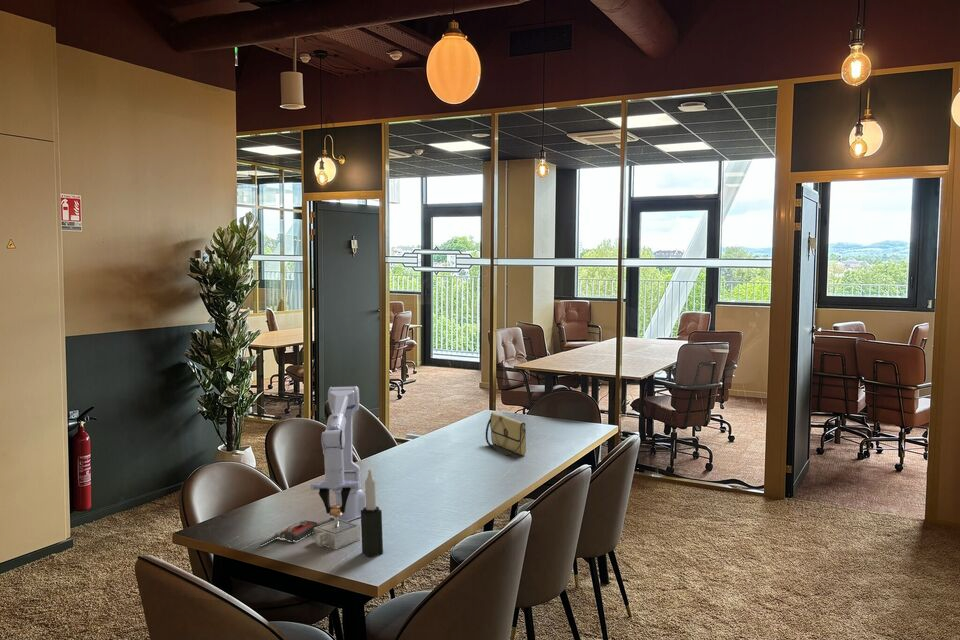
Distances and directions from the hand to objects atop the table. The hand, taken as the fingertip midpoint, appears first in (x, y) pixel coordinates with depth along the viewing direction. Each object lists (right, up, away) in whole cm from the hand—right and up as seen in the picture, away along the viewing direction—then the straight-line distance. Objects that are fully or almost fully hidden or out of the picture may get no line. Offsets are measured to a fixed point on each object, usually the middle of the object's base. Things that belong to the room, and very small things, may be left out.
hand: (336, 512), depth 226 cm
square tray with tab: (0, -9, +1) cm, 9 cm away
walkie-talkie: (-15, -10, +4) cm, 18 cm away
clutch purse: (+55, 0, +105) cm, 119 cm away
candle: (+13, -10, -9) cm, 19 cm away
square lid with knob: (0, -6, 0) cm, 6 cm away
